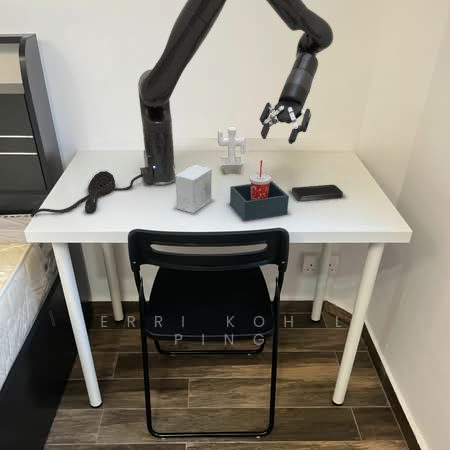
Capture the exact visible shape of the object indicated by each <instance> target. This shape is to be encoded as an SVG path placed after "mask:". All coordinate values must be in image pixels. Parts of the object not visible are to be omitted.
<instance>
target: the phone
mask: <svg viewBox="0 0 450 450" xmlns="http://www.w3.org/2000/svg"><path fill="white" fill-rule="evenodd" d="M291 194H292V195H293V196H294V197H295V199H296V200H297V201H300V202H302V201H303V202H305V201H315V200H317V201H318V200H328V199H329V200H330V199H341V198H343V197H344V192H343V191H342V190H341V188H339V187H338V185H336V184H322V185H321V184H320V185H319V184H318V185H307V186H306V185H305V186H293V187H291Z"/></svg>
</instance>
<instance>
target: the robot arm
mask: <svg viewBox="0 0 450 450" xmlns="http://www.w3.org/2000/svg"><path fill="white" fill-rule="evenodd" d="M265 1H266V2H267V4H268V5H269V6H270V8H271V9H272V10H273V11H274V13H275V14H276V15H277V16H278V17H279V19H281V21H282V22H283V23H284V24H285V25H286V27H287V28H289V30H291V31H292V32H295V31H302V32H303V33H302V34H301V35H300V38H299V40H298V42H297V46H296V51H295V52H296V53H295V60H294V62H293V64H292V67H291V69H290V72H289V74H288V75H287V77H286V79H285V82H284V84H283V88H282V90H281V92H280V95H279V97H278V102H277V103H276V104H275V105H274V104H271V102H266V104H265V106H264V108H263V109H262V112H261V114H260V117H259V121H260V124H261V125H262V127H261V131H260V136H261V138H262V139H263V140H266V139H267V137H268V135H269V132H270V128H271V127H273V126H274V125H276V124H278V123H282V124H283V123H284V124H289V125H290V124H292V125H293V128H292V129H291V132H290V134H289V136H288V140H287V142H288V144H289V145H293V143H295V142H296V140H297V138H298V135H299V133H301V132H302V133H306V132H307V130H308V127H309V125H310V124H309V123H310V121H311V118H312V113H311V109H310V108H306V109H304V108H305V107H304V106H305V104H306V101H307V98H308V96H309V95H310V92H311V89H312V85H313V81H314V79H315V77H316V74H317V71H318V67H319V60H318V58H317V55H318V54H320V53H321V52H323V51H325V50H327V49H328V48H329V47H330V46H331V45H332V44H333V41H334V32H333V29H332V27H331V25H330V24H329V22H327V21H326V20H325V19H324V18H323V17H322V16H320V15H319V14H317V13H316V12H314V11H313V10H311V9H310V8H308V7H307V5H306V4H305V2H304V1H303V0H265ZM226 3H227V0H187V1H185V4H184V6H183V7H182V8H181V10H180V12H179V13H178V15H177V18H176V19H175V21H174V23H173V25H172V28H171V30H170V33H169V36H168V39H167V41H166V44H165V46H164V50H163V52H162V53H161V55H160V56H159V59H158V60H157V62H156V63H155V65H154V66H153V68H152V69H151V68H149V69H146V70H145V71H143V72H142V73H141V75H140V77H139V79H138V83H137V90H138V91H137V92H138V99H139V108H140V117H141V118H140V119H141V125H142V136H143V144H144V145H143V147H144V150H143V160H144V167H143V166H142V167H139V171H140V174H138V175H136V176H134V177H133V178H132V179H131V180H130V182H129V185H128V186H126V187H121V188H120V187H115V188H113V191H115V192H116V191H120V192H121V191H128V190H130V189H131V188H133V185H134V182H135V181H136V180H138V179H140V178H141V179H142V181H143V182H144V183H147V182H148V184H149V185H155V186H166V185H170V184H172V183H175V182H176V171H175V170H176V164H175V153H174V136H173V134H174V133H173V119H172V113H171V112H172V111H171V101H170V99H171V97H172V95H173V92H174V90H175V88H176V86H177V84H178V82H179V80H180V78H181V76H182V75H183V72H184V71H185V69H186V67H188V65H189V63H190V62H191V61H192V60H193V58H194V57H195V56H196V54H197V52H198V51H199V50H200V48H201V46H202V45H203V44H204V41H205V40H206V39H207V37H208V35H209V34H210V32H211V31H212V29H213V27H214V25H215V24H216V22H217V20H218V18H219V17H220V14H221V12H222V11H223V9H224V7H225V4H226ZM300 117H302V120H301V123H300V124H298V121H297V120H298V119H299V118H300ZM102 189H106V188H102ZM102 189H98V190H102ZM95 191H97V190H95ZM113 191H112V192H113ZM90 195H91V193H88V194H86V195H85V196H83V197H81V198H80V199H78V200H77V201H76V202H75V203H73V204H72V205H70V206H68V207H65V208H62V209H53V208H38V209H35V210H34V211H33V212H31V214H30V215H29V216H30V217H35V215H37V214H38V213H43V212H47V213H58V214H60V213H65V212H68V211H69V212H70V211H71V210H73V209H75V208H76V207H78V206H79V205H80V204H81V203H83V202H84V201H87V199H88V198H89V197H90ZM48 313H49V315H50V316H49V317H50V320H51V321H50V322H51V324H52V327H55V326H56V323H55V317H54V315H53V311H52V310H48Z"/></svg>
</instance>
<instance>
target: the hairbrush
mask: <svg viewBox="0 0 450 450" xmlns="http://www.w3.org/2000/svg"><path fill="white" fill-rule="evenodd" d="M102 188H106V189H102ZM113 188H116V180H115V177H114V175H113V173H111V172H110V171H108V170H107V169H103V171H102V170H100V171H99V172H96V171H95V172H94V174H93V176H92V177H91V179H88V182H87V191H88V194H90V193H91V195H90V197H89V198H88V199H86V200H85V203H84V211H85V213H86V214H92V213H93V212H95V211H96V208H97V206H98V197H99V196H101V195H102V196H103V195H107V194H111V193H112V192H113ZM98 189H102V190H98ZM95 190H97V191H95Z"/></svg>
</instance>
